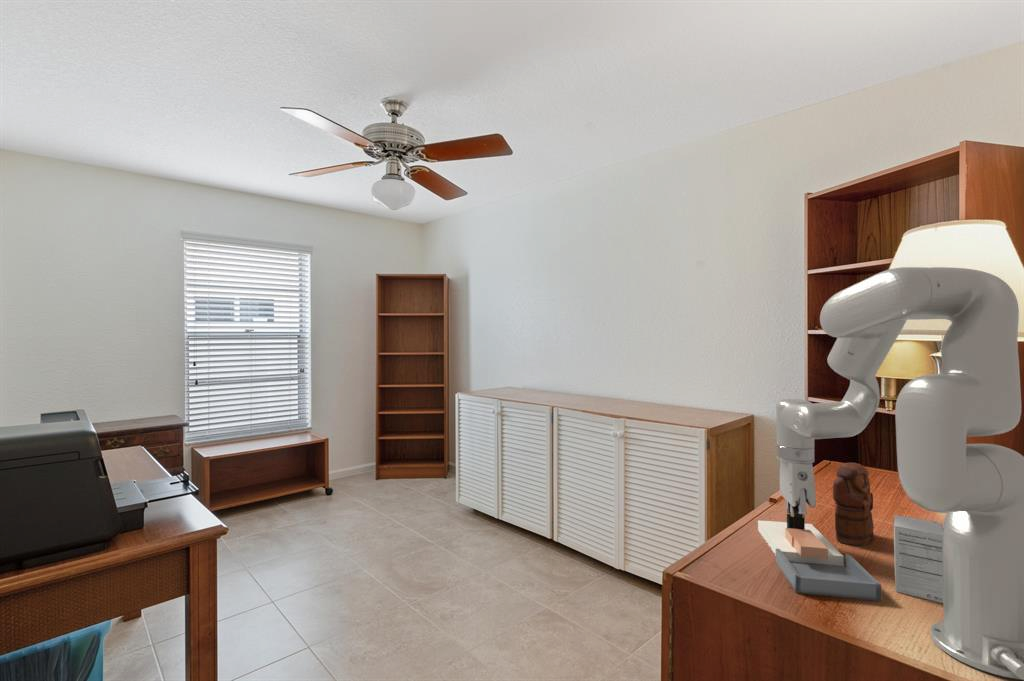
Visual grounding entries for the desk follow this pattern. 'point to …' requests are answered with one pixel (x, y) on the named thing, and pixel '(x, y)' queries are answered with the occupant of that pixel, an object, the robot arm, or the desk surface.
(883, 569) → the desk surface
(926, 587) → the supplement box
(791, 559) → the board
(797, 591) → the tray
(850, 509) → the wooden figurine
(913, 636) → the desk surface
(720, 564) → the desk surface
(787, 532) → the tile back
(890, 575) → the desk surface
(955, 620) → the robot arm
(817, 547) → the tile front
